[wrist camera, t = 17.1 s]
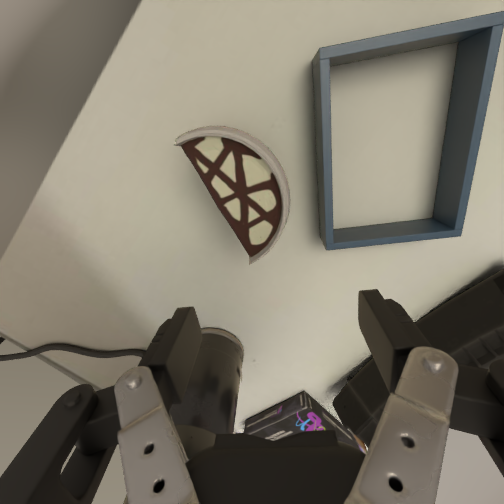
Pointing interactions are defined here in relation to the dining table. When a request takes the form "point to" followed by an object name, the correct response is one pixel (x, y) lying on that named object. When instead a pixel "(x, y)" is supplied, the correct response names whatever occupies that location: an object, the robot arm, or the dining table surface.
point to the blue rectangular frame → (456, 135)
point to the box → (297, 421)
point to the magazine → (440, 337)
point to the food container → (241, 183)
